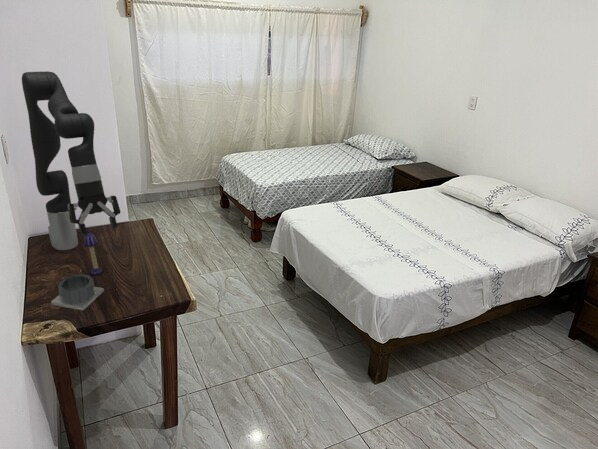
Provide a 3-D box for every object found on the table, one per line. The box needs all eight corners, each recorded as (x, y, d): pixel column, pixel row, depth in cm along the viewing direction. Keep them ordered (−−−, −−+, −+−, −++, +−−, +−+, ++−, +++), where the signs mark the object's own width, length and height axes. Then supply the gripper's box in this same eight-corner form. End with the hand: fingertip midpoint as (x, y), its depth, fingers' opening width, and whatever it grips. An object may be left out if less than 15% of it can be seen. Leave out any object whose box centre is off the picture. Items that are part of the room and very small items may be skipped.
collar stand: (51, 304, 148) (48, 289, 146) (74, 285, 159) (71, 271, 156) (83, 310, 146) (80, 295, 144) (104, 290, 157) (101, 276, 154)
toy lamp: (88, 276, 165) (81, 238, 158) (90, 269, 169) (83, 232, 162) (101, 275, 166) (95, 237, 159) (103, 268, 170) (97, 231, 163)
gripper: (107, 177, 138) (118, 226, 141) (59, 184, 129) (72, 237, 132) (115, 176, 132) (126, 227, 135) (65, 184, 123) (78, 239, 126)
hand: (99, 232), depth 134 cm, fingers open, 8 cm apart
